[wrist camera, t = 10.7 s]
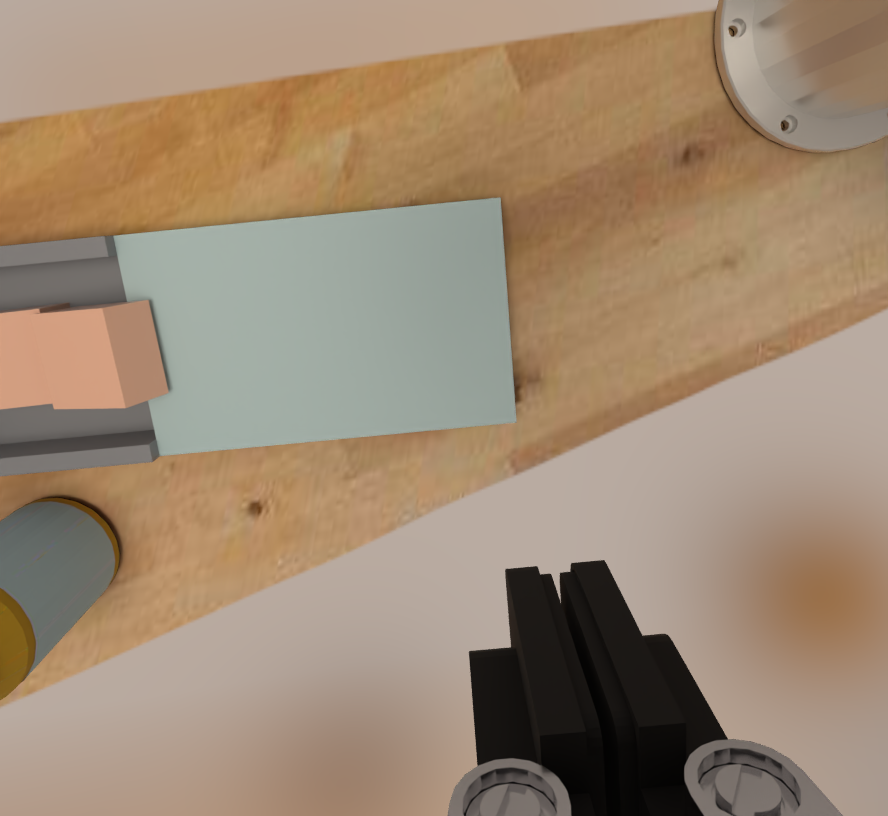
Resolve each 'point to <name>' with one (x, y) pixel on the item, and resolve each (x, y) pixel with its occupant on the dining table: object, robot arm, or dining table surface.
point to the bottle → (48, 579)
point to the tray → (41, 426)
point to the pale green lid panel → (326, 325)
